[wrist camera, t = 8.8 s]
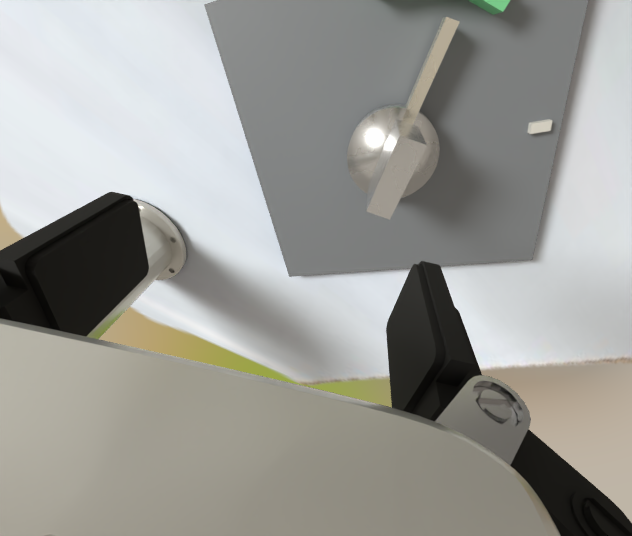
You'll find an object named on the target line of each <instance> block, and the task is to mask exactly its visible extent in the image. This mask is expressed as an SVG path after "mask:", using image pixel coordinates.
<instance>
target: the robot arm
mask: <svg viewBox="0 0 632 536" xmlns="http://www.w3.org/2000/svg"><path fill="white" fill-rule="evenodd" d="M185 261H186V247H185V243H184V240H183V238H182V236H181V234H180V232H179V231H178V229H177V228H176V226H175V225H174V224H173V223H172V222H171V221H170V219H169V218H167V217H166V216H165V215H164V214H163V213H162V212H160V211H159V210H157V209H156V208H154V207H153V206H151V205H149V204H147V203H145V202H143V201H140V200H137V199H133V198H132V197H131V196H129V195H124V194H120V193H115V192H109V193H107V194H105V195H103V196H101V197H100V198H98V199H96V200H94V201H92V202H90V203H88V204H86V205H85V206H83V207H81V208H79V209H77V210H75V211H73V212H72V213H70V214H68V215H66V216H64V217H62V218H60V219H58V220H57V221H55V222H53V223H51V224H49V225H47V226H45V227H43V228H42V229H40V230H38V231H36V232H34V233H32V234H30V235H29V236H27V237H25V238H23V239H21V240H19V241H17V242H15V243H14V244H12V245H10V246H8V247H6V248H4V249H3V250H1V251H0V536H632V523H631V522H630V521H629V519H627V517H626V516H625V514H624V513H623V512H622V511H621V510H620V509H619V508H618V507H617V506H616V505H615V504H614V503H613V502H612V501H611V500H610V499H609V498H608V497H607V496H605V495H604V494H603V493H602V492H601V491H600V490H598V489H597V488H596V487H595V486H594V485H593V484H592V483H590V482H589V481H588V480H587V479H586V478H585V477H583V476H582V475H581V474H580V473H579V472H578V471H576V470H575V469H574V468H573V467H572V466H571V465H569V464H568V463H567V462H566V461H565V460H564V459H562V458H561V457H560V456H559V455H558V454H557V453H555V452H554V451H553V450H552V449H551V448H549V447H548V446H547V445H546V444H545V443H544V442H542V441H541V440H540V439H539V438H538V437H537V436H536V435H534V434H533V433H532V432H531V431H530V430H529V426H530V421H531V418H530V414H529V410H528V409H527V407H526V405H525V403H524V401H523V400H522V399H521V398H520V397H519V395H518V394H517V393H516V392H515V391H514V390H512V389H511V388H510V387H509V386H508V385H506V384H504V383H503V382H501V381H500V380H497V379H495V378H492V377H490V376H483V375H482V374H481V371H480V368H479V366H478V363H477V360H476V357H475V355H474V352H473V349H472V346H471V344H470V341H469V338H468V335H467V333H466V330H465V327H464V324H463V321H462V319H461V316H460V313H459V311H458V310H457V309H456V308H455V307H454V304H453V301H452V298H451V296H450V293H449V290H448V287H447V284H446V281H445V279H444V276H443V273H442V270H441V267H440V265H438V264H434V263H430V262H425V261H421V262H420V263H419V264H413V266H412V268H411V270H410V272H409V274H408V277H407V279H406V281H405V284H404V286H403V288H402V290H401V293H400V295H399V297H398V299H397V302H396V304H395V306H394V308H393V311H392V313H391V315H390V317H389V320H388V323H387V328H386V332H387V346H388V359H389V373H390V386H391V400H392V408H391V407H388V406H383V405H380V404H376V403H371V402H368V401H363V400H360V399H355V398H351V397H347V396H343V395H339V394H335V393H331V392H327V391H323V390H319V389H314V388H310V387H306V386H301V385H297V384H293V383H288V382H284V381H280V380H275V379H271V378H266V377H263V376H258V375H254V374H250V373H245V372H241V371H237V370H232V369H228V368H223V367H219V366H215V365H210V364H206V363H201V362H197V361H192V360H188V359H184V358H179V357H175V356H170V355H166V354H162V353H157V352H152V351H148V350H144V349H139V348H135V347H130V346H126V345H121V344H117V343H112V342H107V341H103V340H99V338H100V337H101V336H102V335H103V334H104V333H105V332H106V331H107V330H108V329H109V328H110V326H111V325H112V324H113V323H114V322H115V321H116V320H117V319H118V318H119V317H120V316H121V315H122V314H123V313H124V312H125V311H126V310H127V309H128V308H129V307H130V306H131V305H132V303H133V302H134V301H135V300H136V299H137V298H138V297H139V296H140V295H141V294H142V293H143V292H144V291H145V290H146V289H147V288H148V287H149V286H150V285H151V284H152V283H153V282H154V280H164V279H168V278H171V277H173V276H175V275H176V274H177V273H178V272H179V271H180V270H181V269H182V268H183V266H184V264H185Z"/></svg>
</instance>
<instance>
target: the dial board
mask: <svg viewBox="0 0 632 536" xmlns="http://www.w3.org/2000/svg"><path fill="white" fill-rule="evenodd" d="M587 4H588V0H217V1H214V2H211V3H208V4H205V8H206V12H207V15H208V18H209V21H210V24H211V28H212V31H213V34H214V37H215V40H216V44H217V47H218V50H219V53H220V56H221V60H222V63H223V66H224V69H225V72H226V76H227V79H228V82H229V85H230V88H231V92H232V95H233V98H234V101H235V104H236V108H237V111H238V114H239V117H240V120H241V123H242V127H243V130H244V133H245V136H246V139H247V143H248V146H249V149H250V152H251V155H252V159H253V162H254V165H255V168H256V171H257V175H258V178H259V181H260V184H261V187H262V191H263V194H264V197H265V200H266V203H267V207H268V210H269V213H270V216H271V219H272V223H273V226H274V229H275V232H276V235H277V239H278V242H279V245H280V248H281V251H282V255H283V258H284V261H285V264H286V267H287V271H288V274H289V277H291V276H306V275H320V274H335V273H349V272H364V271H379V270H393V269H408V268H412V266H413V264H419V263H420V262H421V261H425V262H430V263H434V264H438V265H440V266H451V265H466V264H481V263H495V262H510V261H524V260H532V259H533V254H534V249H535V245H536V240H537V236H538V231H539V226H540V222H541V217H542V212H543V208H544V203H545V199H546V194H547V189H548V185H549V180H550V175H551V171H552V166H553V162H554V157H555V152H556V148H557V143H558V138H559V134H560V129H561V125H562V120H563V115H564V111H565V106H566V101H567V97H568V92H569V88H570V83H571V78H572V74H573V69H574V64H575V60H576V55H577V51H578V46H579V41H580V37H581V32H582V27H583V23H584V18H585V14H586V9H587ZM445 17H449V18H451V19H454V20H457V21H459V25H458V27H457V29H456V31H455V33H454V36H453V38H452V40H451V42H450V44H449V47H448V49H447V51H446V53H445V55H444V57H443V60H442V62H441V64H440V66H439V68H438V71H437V73H436V75H435V77H434V79H433V82H432V84H431V86H430V88H429V90H428V93H427V95H426V97H425V99H424V101H423V104H422V106H421V108H420V110H419V111H421V112H422V113H423V114H424V115H425V116H426V117H427V118H428V119H429V121H430V122H431V124H432V125H433V127H434V129H435V131H436V133H437V136H438V140H439V147H440V151H439V159H438V163H437V166H436V168H435V170H434V172H433V174H432V176H431V177H430V179H429V180H428V181H427V182H426V183H425V184H424V185H423V186H422V187H421V188H420V189H419V190H417V191H416V192H414V193H412V194H410V195H408V196H406V197H403V198H400V200H399V202H398V204H397V206H396V208H395V210H394V212H393V214H392V216H391V218H390V220H389V219H386V218H383V217H381V216H378V215H375V214H372V213H369V212H366V208H367V196H368V194H367V193H365V192H364V191H362V190H361V189H360V188H359V187H358V186H357V185H356V183H355V182H354V181H353V179H352V177H351V175H350V172H349V169H348V164H347V152H348V146H349V143H350V140H351V136H352V134H353V132H354V130H355V128H356V126H357V125H358V124H359V122H360V121H361V120H362V119H363V118H364V117H365V116H366V115H367V114H368V113H370V112H371V111H373V110H375V109H377V108H379V107H381V106H384V105H388V104H405V105H406V103H407V101H408V99H409V96H410V94H411V92H412V89H413V87H414V85H415V82H416V80H417V77H418V75H419V73H420V70H421V68H422V66H423V63H424V61H425V59H426V56H427V54H428V52H429V49H430V47H431V45H432V42H433V40H434V38H435V35H436V33H437V31H438V28H439V26H440V24H441V21H442V19H443V18H445Z"/></svg>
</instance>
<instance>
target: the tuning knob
mask: <svg viewBox="0 0 632 536" xmlns="http://www.w3.org/2000/svg"><path fill="white" fill-rule="evenodd" d="M458 25H459V21H457V20H454V19H451V18H449V17H445V18H443V19H442V21H441V24H440V26H439V28H438V31H437V33H436V35H435V38H434V40H433V42H432V45H431V47H430V49H429V52H428V54H427V56H426V59H425V61H424V63H423V66H422V68H421V70H420V73H419V75H418V77H417V80H416V82H415V85H414V87H413V89H412V92H411V94H410V96H409V99H408V101H407V103H406V105H405V104H388V105H384V106H381V107H379V108H377V109H375V110H373V111H371V112H370V113H368V114H367V115H366V116H365V117H364V118H363V119H362V120H361V121H360V122H359V124H358V125H357V126H356V128H355V130H354V132H353V134H352V136H351V140H350V143H349V146H348V152H347V164H348V169H349V172H350V175H351V177H352V179H353V181H354V182H355V183H356V185H357V186H358V187H359V188H360V189H361V190H362V191H364V192H365V193H367V194H368V196H367V208H366V212H369V213H372V214H375V215H378V216H381V217H383V218H386V219H389V220H390V218H391V216H392V214H393V212H394V210H395V208H396V206H397V204H398V202H399V200H400V198H403V197H406V196H408V195H410V194H412V193H414V192H416V191H417V190H419V189H420V188H421V187H422V186H423V185H424V184H425V183H426V182H427V181H428V180H429V179H430V177H431V176H432V174H433V172H434V170H435V168H436V166H437V163H438V159H439V151H440V147H439V140H438V136H437V133H436V131H435V129H434V127H433V125H432V124H431V122H430V121H429V119H428V118H427V117H426V116H425V115H424V114H423V113H422V112H421V111H419V110H420V108H421V106H422V104H423V101H424V99H425V97H426V95H427V93H428V90H429V88H430V86H431V84H432V82H433V79H434V77H435V75H436V73H437V71H438V68H439V66H440V64H441V62H442V60H443V57H444V55H445V53H446V51H447V49H448V47H449V44H450V42H451V40H452V38H453V36H454V33H455V31H456V29H457V27H458Z"/></svg>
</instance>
